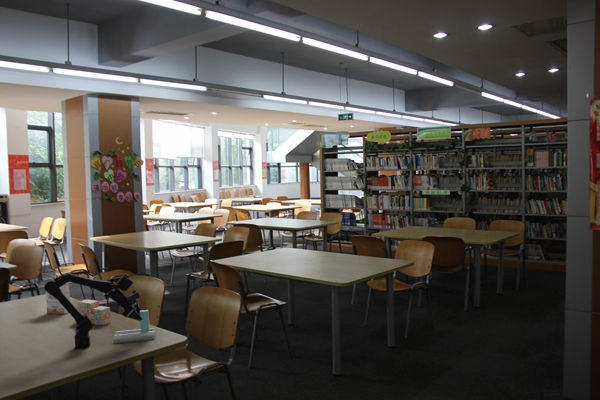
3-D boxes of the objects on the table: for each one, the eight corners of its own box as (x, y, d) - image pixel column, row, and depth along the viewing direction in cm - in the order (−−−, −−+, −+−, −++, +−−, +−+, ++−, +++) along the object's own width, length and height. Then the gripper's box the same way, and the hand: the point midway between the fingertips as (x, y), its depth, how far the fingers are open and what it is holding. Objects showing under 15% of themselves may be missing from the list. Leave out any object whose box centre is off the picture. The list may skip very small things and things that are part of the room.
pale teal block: (141, 336, 257) (139, 311, 256) (141, 334, 260) (140, 310, 259) (150, 335, 258) (149, 311, 257) (151, 333, 261) (149, 309, 260)
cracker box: (46, 313, 315) (44, 281, 314) (53, 311, 321) (51, 279, 320) (64, 314, 311) (62, 282, 310) (71, 312, 317) (69, 279, 316)
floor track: (113, 343, 250) (113, 337, 250) (117, 336, 262) (116, 330, 262) (154, 339, 254) (153, 332, 254) (156, 332, 266) (155, 326, 266)
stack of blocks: (111, 322, 289) (109, 302, 288) (102, 325, 283) (100, 304, 283) (87, 318, 299) (85, 299, 299) (78, 321, 294) (76, 301, 293)
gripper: (128, 290, 247) (152, 310, 250) (133, 283, 266) (155, 301, 268) (112, 307, 246) (136, 327, 249) (118, 298, 264) (140, 317, 267)
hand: (143, 317), depth 258 cm, fingers open, 9 cm apart
